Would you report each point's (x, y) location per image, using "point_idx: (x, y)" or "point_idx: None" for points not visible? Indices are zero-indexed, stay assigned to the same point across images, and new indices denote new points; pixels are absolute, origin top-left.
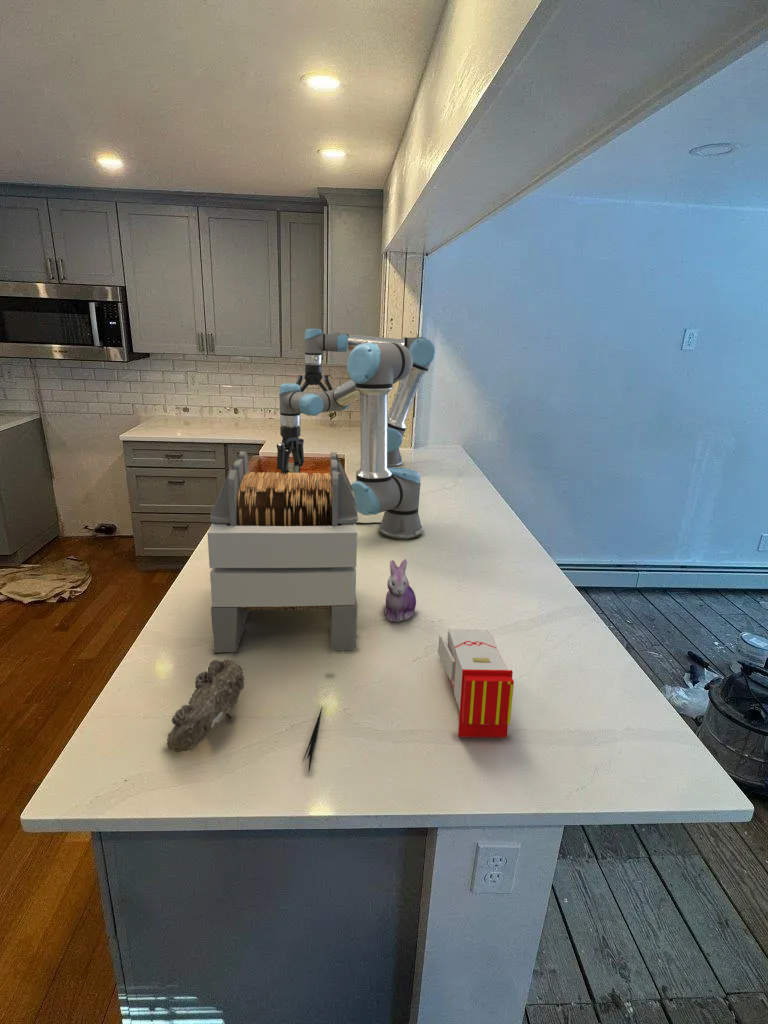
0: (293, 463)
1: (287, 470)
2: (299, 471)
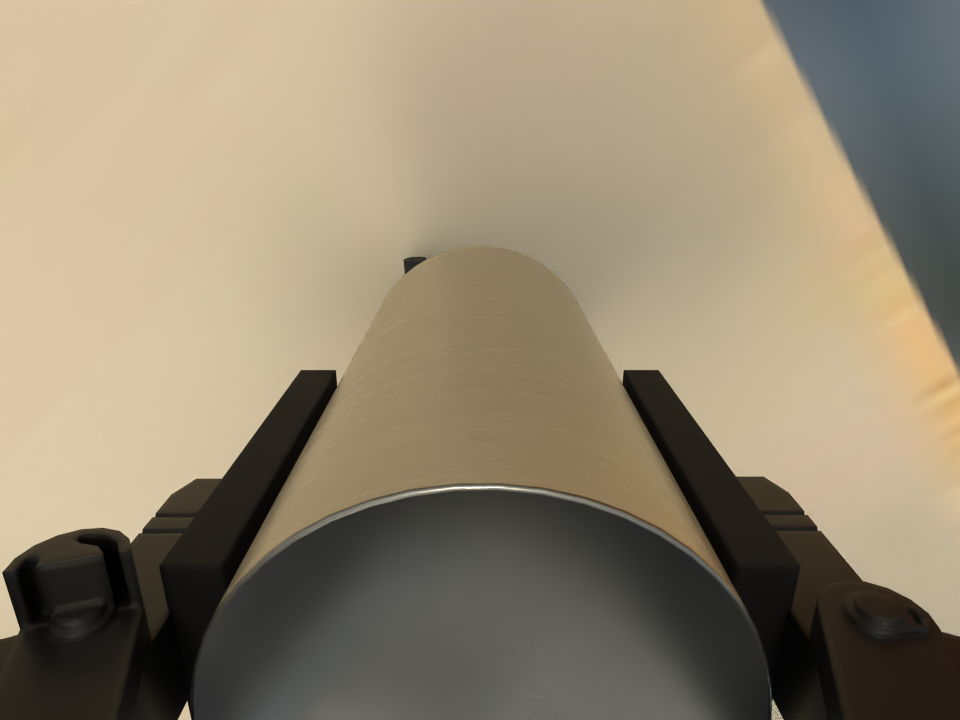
0: (703, 706)
1: None
2: None
